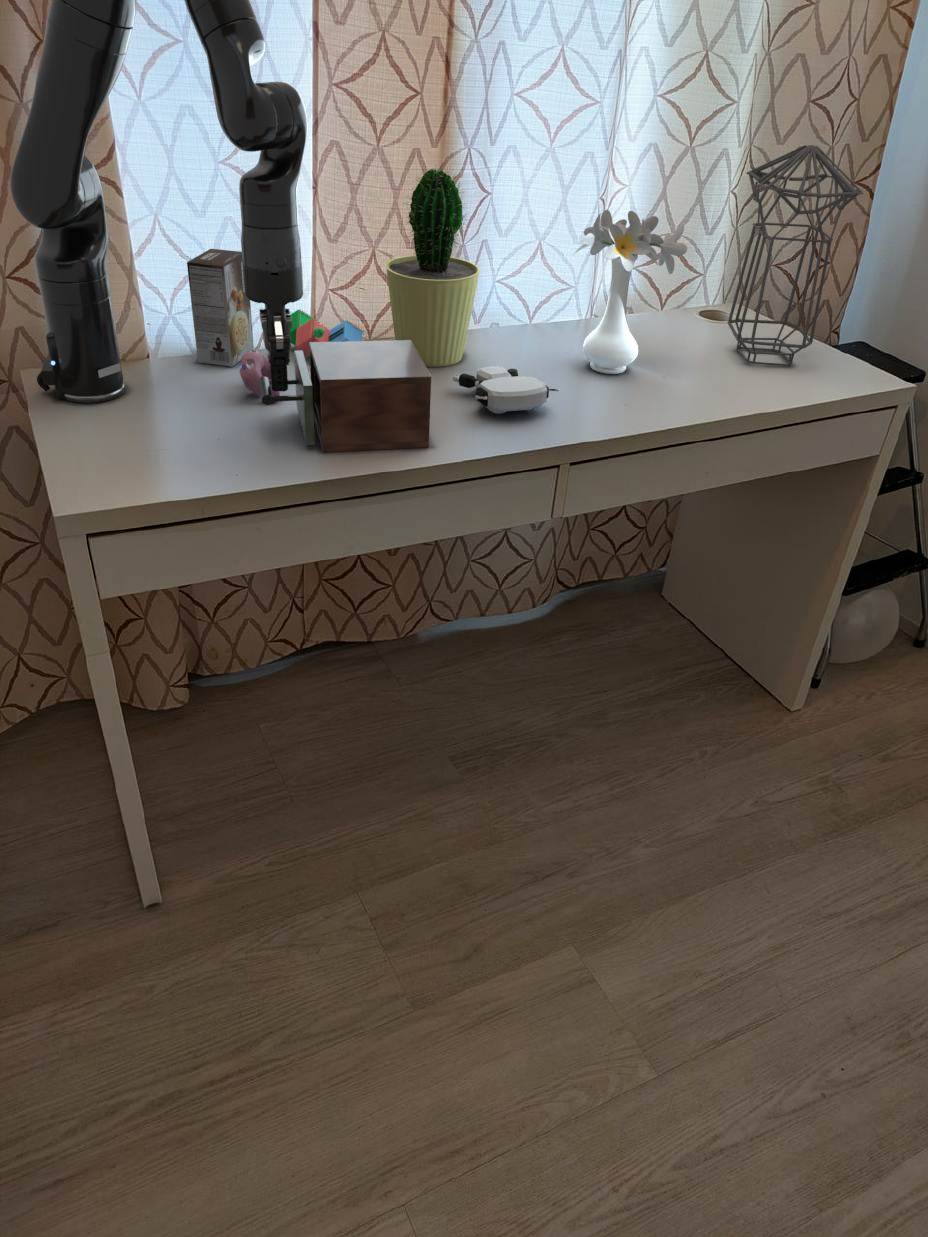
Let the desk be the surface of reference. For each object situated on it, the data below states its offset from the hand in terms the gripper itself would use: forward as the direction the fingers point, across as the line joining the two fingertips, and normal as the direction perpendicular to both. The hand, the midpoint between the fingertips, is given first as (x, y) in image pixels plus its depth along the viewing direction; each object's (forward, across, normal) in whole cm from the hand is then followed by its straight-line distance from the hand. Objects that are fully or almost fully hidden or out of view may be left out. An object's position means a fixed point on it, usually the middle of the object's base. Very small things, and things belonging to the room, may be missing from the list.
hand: (279, 389), depth 134 cm
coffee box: (+6, -31, -6) cm, 33 cm away
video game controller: (+6, -15, -2) cm, 17 cm away
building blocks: (+6, -31, +10) cm, 33 cm away
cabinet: (+6, 0, +12) cm, 14 cm away
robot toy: (+6, -7, +34) cm, 36 cm away
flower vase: (+7, -21, +57) cm, 61 cm away
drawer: (+5, 0, +7) cm, 9 cm away
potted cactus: (+6, -29, +28) cm, 41 cm away
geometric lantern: (+7, -23, +87) cm, 91 cm away
